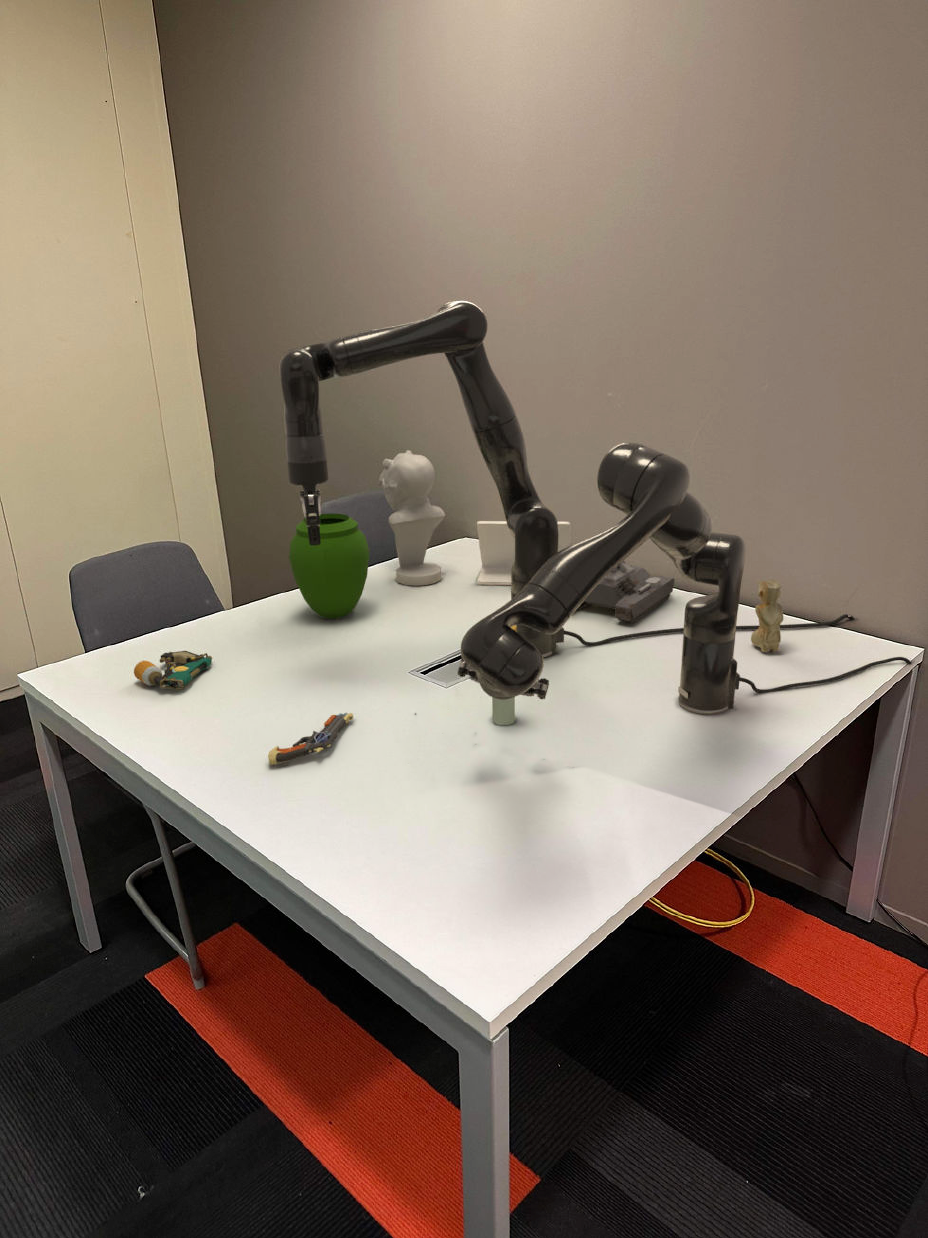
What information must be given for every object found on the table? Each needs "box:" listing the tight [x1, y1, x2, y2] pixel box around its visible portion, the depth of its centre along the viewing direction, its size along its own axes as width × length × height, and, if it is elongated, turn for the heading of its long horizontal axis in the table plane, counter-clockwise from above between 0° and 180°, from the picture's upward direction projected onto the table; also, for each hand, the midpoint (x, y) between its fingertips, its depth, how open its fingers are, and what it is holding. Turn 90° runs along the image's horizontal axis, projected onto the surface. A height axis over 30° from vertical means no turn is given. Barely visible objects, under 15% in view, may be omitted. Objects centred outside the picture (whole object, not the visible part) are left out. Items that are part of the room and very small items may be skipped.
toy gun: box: [267, 712, 354, 765], centre depth 151 cm, size 3×19×10 cm
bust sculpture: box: [378, 449, 446, 587], centre depth 236 cm, size 16×24×35 cm, turn 28°
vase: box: [288, 512, 370, 620], centre depth 209 cm, size 20×20×24 cm
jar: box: [491, 696, 516, 726], centre depth 155 cm, size 4×4×18 cm
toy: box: [574, 560, 676, 624], centre depth 212 cm, size 25×20×15 cm
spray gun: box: [133, 650, 213, 690], centre depth 180 cm, size 4×17×15 cm
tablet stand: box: [476, 520, 571, 586], centre depth 236 cm, size 18×25×17 cm
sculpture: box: [750, 579, 784, 653], centre depth 183 cm, size 6×7×15 cm
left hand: (314, 539), depth 170 cm, fingers open, 8 cm apart
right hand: (503, 682), depth 139 cm, fingers open, 8 cm apart
